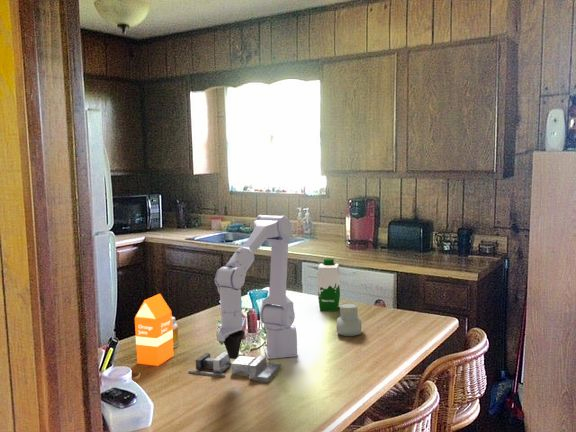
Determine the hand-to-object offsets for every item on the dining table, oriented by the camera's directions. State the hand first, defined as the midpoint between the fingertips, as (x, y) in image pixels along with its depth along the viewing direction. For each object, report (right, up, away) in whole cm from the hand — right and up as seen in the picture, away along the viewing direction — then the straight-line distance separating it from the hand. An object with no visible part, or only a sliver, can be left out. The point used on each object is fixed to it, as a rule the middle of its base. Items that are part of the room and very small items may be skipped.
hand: (233, 357), depth 149 cm
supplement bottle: (-24, -4, +30) cm, 39 cm away
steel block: (+2, -6, +8) cm, 10 cm away
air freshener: (+36, -2, +38) cm, 53 cm away
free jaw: (-7, -6, +10) cm, 14 cm away
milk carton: (+32, +1, +69) cm, 76 cm away
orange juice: (-26, -6, +19) cm, 33 cm away
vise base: (0, -6, +8) cm, 10 cm away
